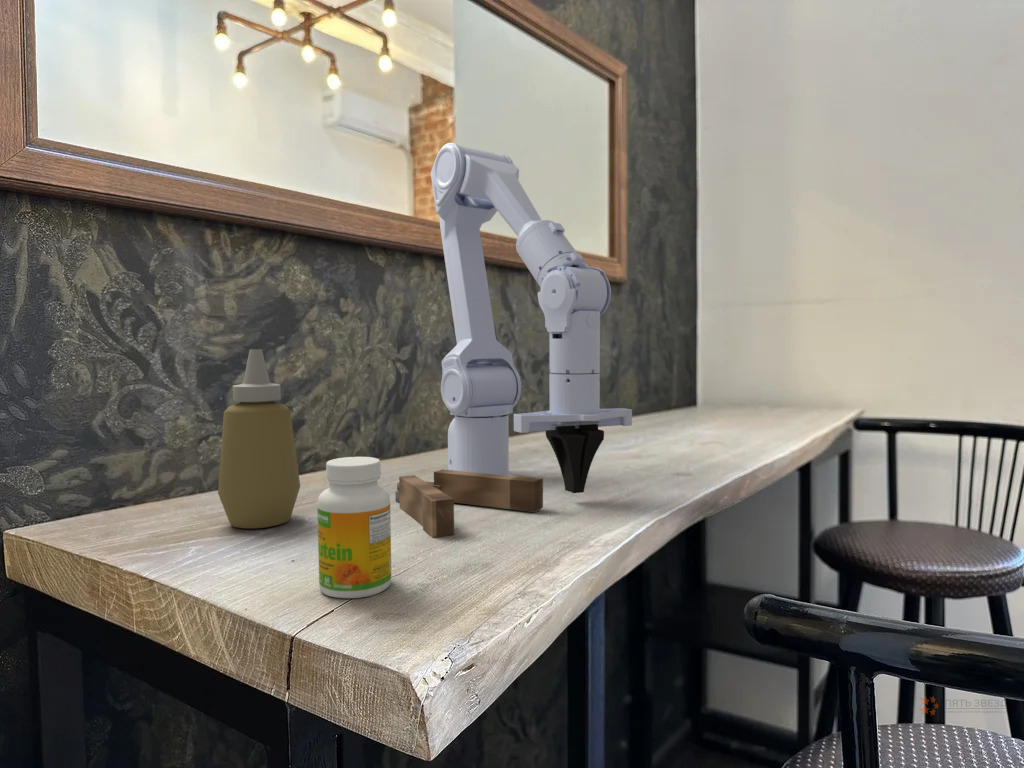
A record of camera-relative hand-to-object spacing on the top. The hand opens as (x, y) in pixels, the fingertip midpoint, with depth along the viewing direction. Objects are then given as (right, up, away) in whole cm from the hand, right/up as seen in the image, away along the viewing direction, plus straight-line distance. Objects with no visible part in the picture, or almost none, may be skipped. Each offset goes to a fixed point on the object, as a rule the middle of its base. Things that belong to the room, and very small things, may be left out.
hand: (574, 491), depth 78 cm
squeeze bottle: (-33, -2, -8) cm, 34 cm away
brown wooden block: (-17, -2, -4) cm, 17 cm away
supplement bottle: (-19, -3, -26) cm, 33 cm away
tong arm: (-13, -1, -1) cm, 13 cm away
